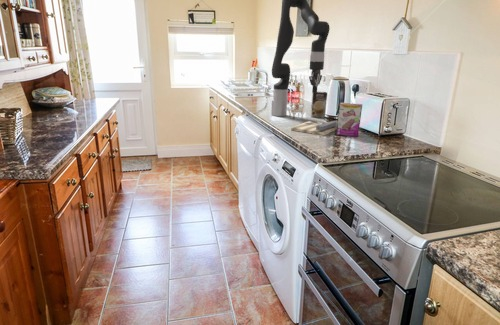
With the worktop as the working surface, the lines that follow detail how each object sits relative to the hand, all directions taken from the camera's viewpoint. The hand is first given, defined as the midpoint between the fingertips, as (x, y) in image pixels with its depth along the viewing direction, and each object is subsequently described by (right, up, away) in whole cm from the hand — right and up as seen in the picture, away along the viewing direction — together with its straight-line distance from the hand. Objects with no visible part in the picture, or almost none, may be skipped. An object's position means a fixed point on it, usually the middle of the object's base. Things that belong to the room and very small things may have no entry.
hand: (314, 92), depth 192 cm
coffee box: (+8, -9, +34) cm, 36 cm away
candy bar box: (+15, -25, -14) cm, 32 cm away
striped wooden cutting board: (+1, -20, -1) cm, 20 cm away
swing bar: (+6, -20, -7) cm, 22 cm away
